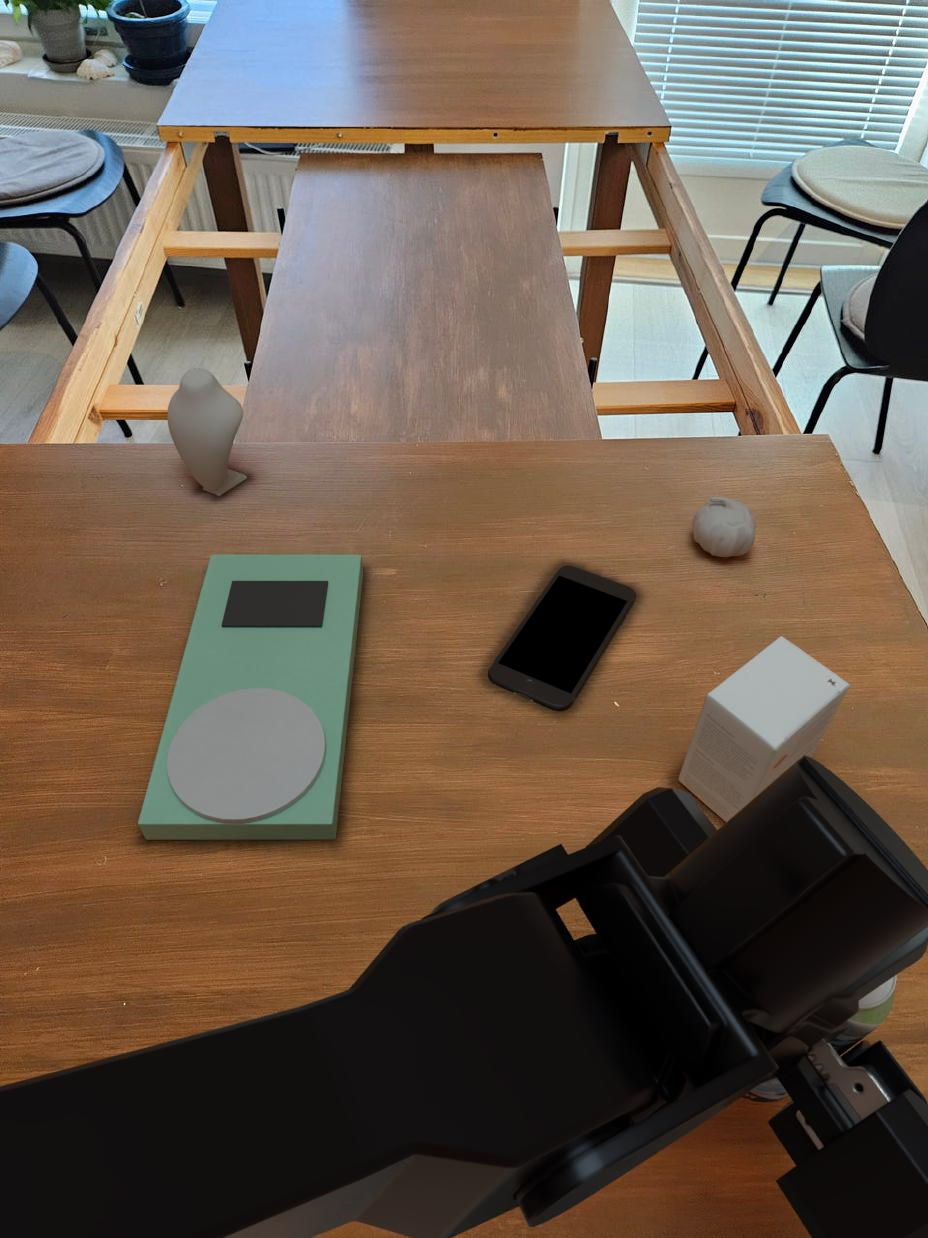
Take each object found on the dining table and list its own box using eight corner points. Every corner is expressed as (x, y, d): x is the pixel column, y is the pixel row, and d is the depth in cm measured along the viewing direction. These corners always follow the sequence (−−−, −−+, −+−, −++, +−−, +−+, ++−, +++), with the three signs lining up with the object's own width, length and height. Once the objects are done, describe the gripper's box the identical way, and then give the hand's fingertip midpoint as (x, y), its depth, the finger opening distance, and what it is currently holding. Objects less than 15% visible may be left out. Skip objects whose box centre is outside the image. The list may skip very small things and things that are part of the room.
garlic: (673, 538, 82) (683, 494, 78) (716, 517, 84) (728, 473, 80) (719, 577, 78) (733, 533, 74) (763, 554, 80) (778, 509, 76)
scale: (335, 840, 61) (331, 819, 59) (145, 840, 61) (134, 819, 59) (363, 572, 78) (360, 549, 76) (215, 572, 78) (209, 548, 76)
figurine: (172, 487, 86) (138, 379, 77) (207, 458, 89) (179, 350, 80) (233, 512, 84) (206, 404, 75) (268, 480, 87) (246, 373, 78)
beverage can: (666, 1013, 49) (715, 916, 40) (779, 966, 51) (849, 863, 42) (729, 1133, 45) (798, 1054, 36) (849, 1078, 47) (942, 990, 38)
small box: (744, 723, 68) (782, 631, 60) (806, 772, 65) (854, 682, 57) (674, 781, 64) (704, 691, 56) (735, 835, 61) (776, 749, 54)
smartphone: (481, 681, 71) (481, 674, 70) (562, 566, 80) (563, 559, 79) (565, 719, 68) (567, 712, 68) (639, 596, 77) (641, 589, 77)
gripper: (1097, 1169, 24) (1133, 1086, 35) (679, 676, 35) (811, 737, 46) (783, 1361, 27) (911, 1228, 39) (493, 855, 38) (660, 870, 50)
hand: (817, 990), depth 43 cm, fingers closed on beverage can, 6 cm apart
